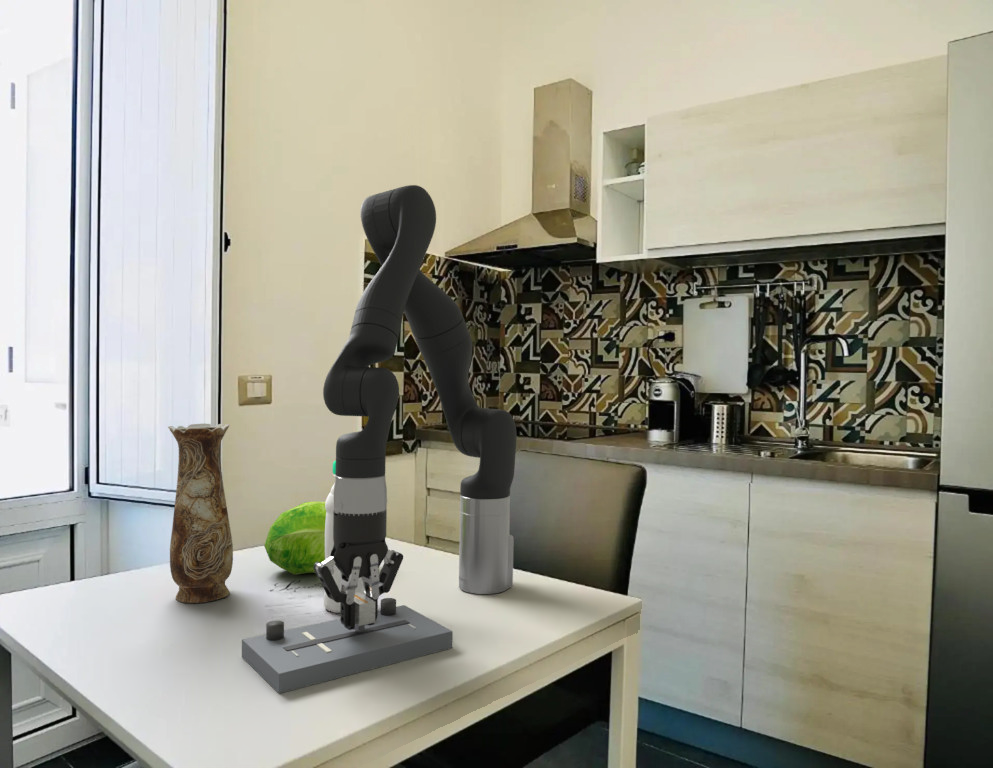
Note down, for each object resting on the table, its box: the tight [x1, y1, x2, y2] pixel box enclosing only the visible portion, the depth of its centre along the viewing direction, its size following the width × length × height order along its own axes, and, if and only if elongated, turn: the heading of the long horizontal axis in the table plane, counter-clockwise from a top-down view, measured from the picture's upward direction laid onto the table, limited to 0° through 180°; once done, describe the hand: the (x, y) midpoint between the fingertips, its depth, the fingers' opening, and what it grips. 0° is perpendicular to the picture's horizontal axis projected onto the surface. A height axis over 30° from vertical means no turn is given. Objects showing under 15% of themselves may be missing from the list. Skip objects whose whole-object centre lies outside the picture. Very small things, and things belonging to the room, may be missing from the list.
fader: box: [353, 593, 375, 632], centre depth 106 cm, size 2×5×5 cm, turn 37°
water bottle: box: [323, 460, 366, 614], centre depth 125 cm, size 7×7×25 cm
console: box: [241, 597, 454, 694], centre depth 106 cm, size 26×14×4 cm, turn 127°
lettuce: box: [263, 500, 326, 575], centre depth 146 cm, size 15×20×14 cm
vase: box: [167, 423, 234, 604], centre depth 129 cm, size 10×11×30 cm
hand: (358, 625), depth 106 cm, fingers closed on fader, 2 cm apart
